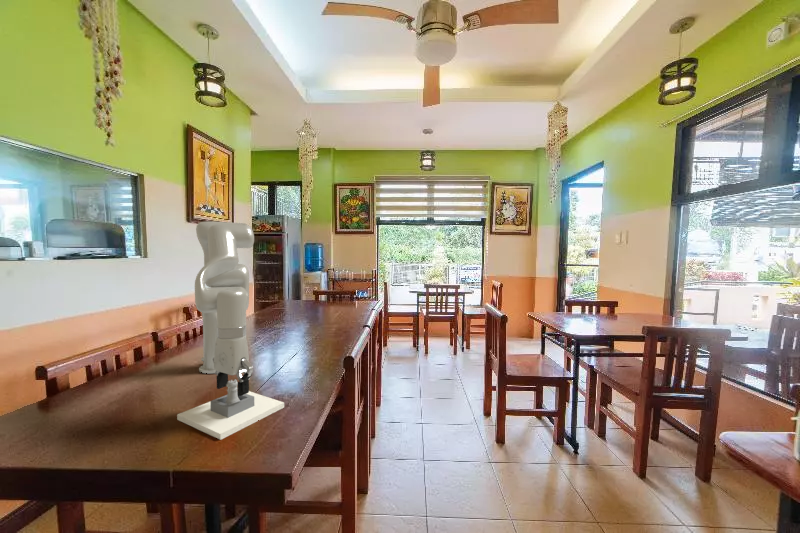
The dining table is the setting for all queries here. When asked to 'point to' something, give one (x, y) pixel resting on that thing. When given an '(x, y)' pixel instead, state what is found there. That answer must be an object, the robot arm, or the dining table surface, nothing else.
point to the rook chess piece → (232, 392)
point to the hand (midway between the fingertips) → (232, 390)
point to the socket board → (229, 414)
